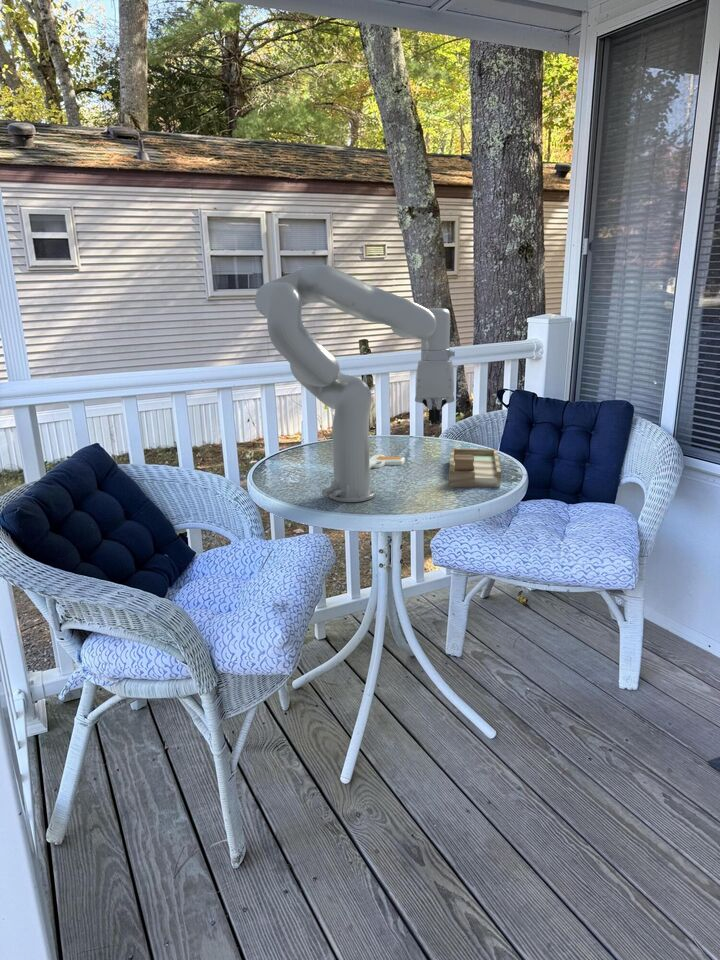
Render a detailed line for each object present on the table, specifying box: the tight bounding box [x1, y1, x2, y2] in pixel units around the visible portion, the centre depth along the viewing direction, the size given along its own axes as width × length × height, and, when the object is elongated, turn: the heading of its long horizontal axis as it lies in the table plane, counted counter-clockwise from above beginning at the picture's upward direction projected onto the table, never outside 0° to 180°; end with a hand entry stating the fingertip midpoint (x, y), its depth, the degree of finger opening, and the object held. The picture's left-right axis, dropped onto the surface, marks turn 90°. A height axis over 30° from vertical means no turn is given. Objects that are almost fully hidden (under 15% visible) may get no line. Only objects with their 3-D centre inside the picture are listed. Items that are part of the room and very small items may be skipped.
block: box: [455, 455, 473, 471], centre depth 178 cm, size 5×5×5 cm
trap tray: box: [448, 448, 502, 488], centre depth 187 cm, size 26×14×4 cm, turn 171°
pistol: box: [369, 453, 406, 469], centre depth 196 cm, size 2×20×11 cm
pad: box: [474, 455, 494, 461], centre depth 195 cm, size 6×6×2 cm
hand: (434, 423), depth 176 cm, fingers closed
